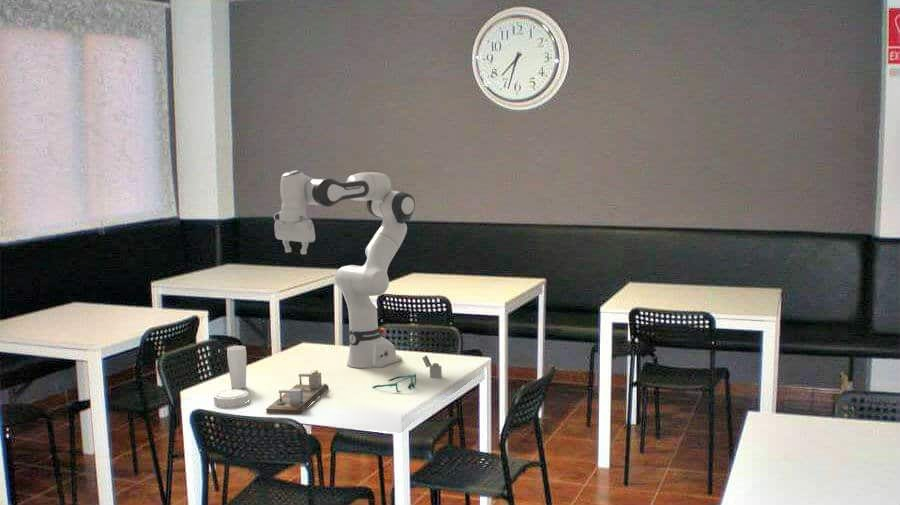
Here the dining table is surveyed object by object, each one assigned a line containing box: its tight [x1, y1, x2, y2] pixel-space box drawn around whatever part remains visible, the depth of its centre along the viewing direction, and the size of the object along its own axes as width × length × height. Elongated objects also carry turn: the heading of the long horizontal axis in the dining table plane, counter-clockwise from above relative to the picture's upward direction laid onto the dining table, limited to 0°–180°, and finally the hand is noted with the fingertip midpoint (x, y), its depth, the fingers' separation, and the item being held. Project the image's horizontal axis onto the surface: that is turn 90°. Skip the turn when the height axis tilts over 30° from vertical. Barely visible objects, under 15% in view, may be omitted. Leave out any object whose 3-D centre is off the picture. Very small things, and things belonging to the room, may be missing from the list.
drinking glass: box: [226, 345, 247, 389], centre depth 362 cm, size 7×7×15 cm
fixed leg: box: [278, 383, 328, 409], centre depth 343 cm, size 28×9×5 cm, turn 169°
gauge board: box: [265, 383, 329, 415], centre depth 344 cm, size 30×12×2 cm, turn 169°
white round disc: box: [213, 388, 250, 408], centre depth 345 cm, size 12×12×4 cm
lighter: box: [421, 355, 443, 379], centre depth 369 cm, size 7×2×8 cm, turn 69°
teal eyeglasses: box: [371, 373, 417, 393], centre depth 358 cm, size 14×15×5 cm
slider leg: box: [298, 370, 323, 388], centre depth 354 cm, size 3×8×6 cm, turn 79°
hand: (295, 253), depth 364 cm, fingers open, 8 cm apart
